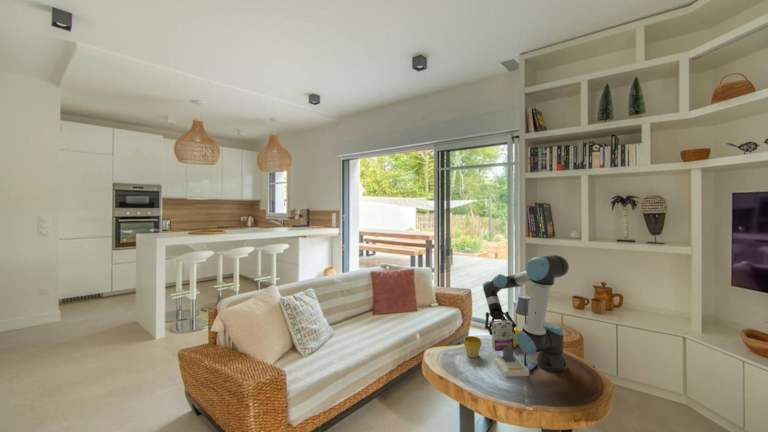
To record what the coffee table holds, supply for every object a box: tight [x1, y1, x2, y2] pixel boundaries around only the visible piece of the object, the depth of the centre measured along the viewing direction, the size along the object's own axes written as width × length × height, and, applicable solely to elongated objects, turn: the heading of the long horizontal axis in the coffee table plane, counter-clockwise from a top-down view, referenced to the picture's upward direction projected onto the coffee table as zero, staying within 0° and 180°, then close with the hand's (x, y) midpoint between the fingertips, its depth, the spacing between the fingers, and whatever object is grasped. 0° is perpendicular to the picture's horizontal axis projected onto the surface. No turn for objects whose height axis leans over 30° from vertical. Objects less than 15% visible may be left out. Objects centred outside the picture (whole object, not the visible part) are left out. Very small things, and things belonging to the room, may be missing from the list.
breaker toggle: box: [501, 347, 515, 362], centre depth 185 cm, size 6×4×7 cm, turn 92°
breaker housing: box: [494, 354, 530, 378], centre depth 181 cm, size 13×15×4 cm
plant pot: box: [463, 335, 482, 359], centre depth 199 cm, size 10×10×10 cm
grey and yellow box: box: [513, 326, 522, 348], centre depth 213 cm, size 13×20×12 cm
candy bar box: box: [491, 319, 514, 352], centre depth 193 cm, size 11×5×16 cm, turn 95°
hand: (504, 339), depth 190 cm, fingers closed on candy bar box, 11 cm apart
